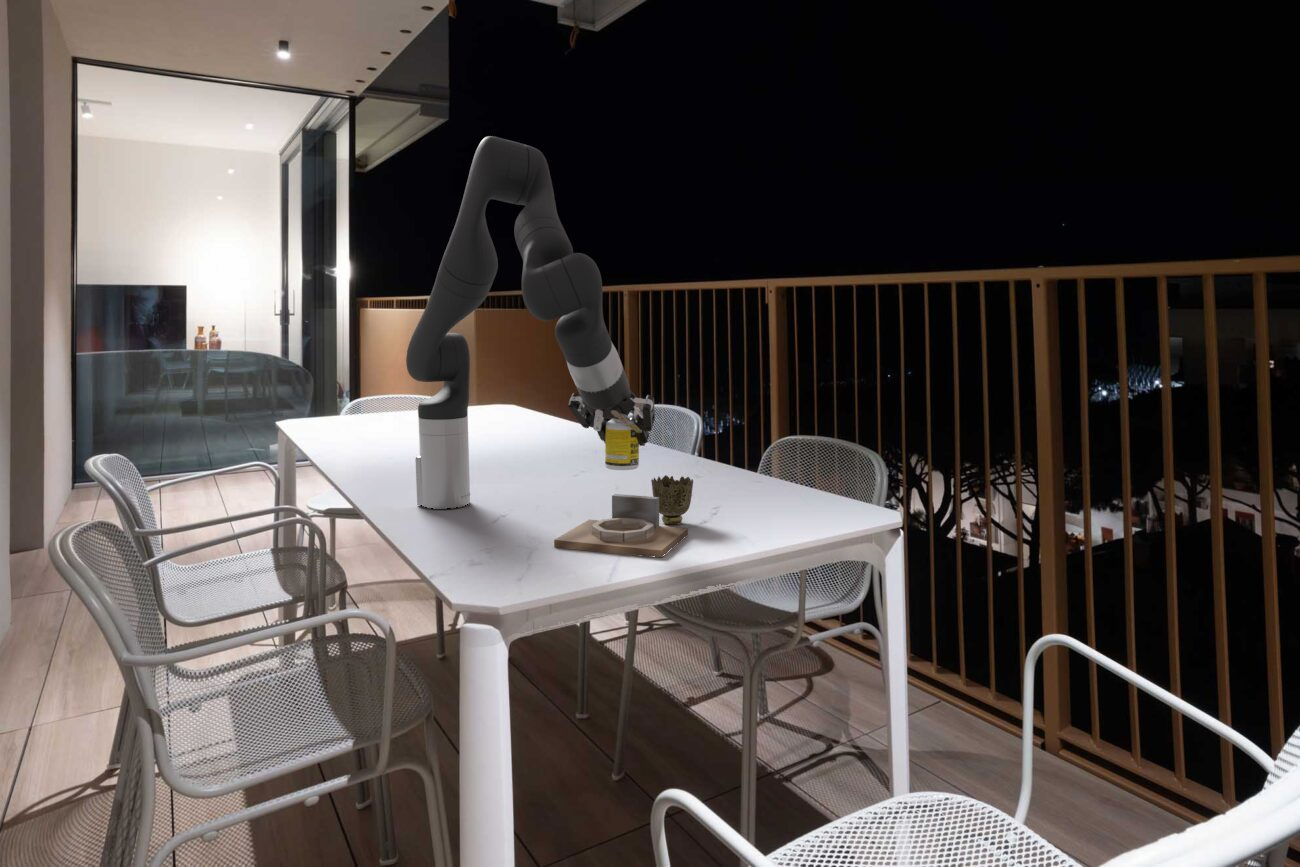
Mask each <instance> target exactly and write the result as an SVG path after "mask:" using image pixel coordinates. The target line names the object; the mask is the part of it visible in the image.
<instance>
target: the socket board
mask: <svg viewBox="0 0 1300 867" xmlns="http://www.w3.org/2000/svg"><path fill="white" fill-rule="evenodd" d="M687 535H688V536H689V529H688V527H678V526H666V525H660V513H659V497H653V496H646V495H633V494H624V493H623V494H622V493H621V494H619V493H614V494H612V495H611V518H604V519H600V520H597V519H588V520H586V521H584V522H583V523H581V524H579V525H578V526H577V525H576V526H575V527H574V528H573V529H570V530H568V531H567V532H565V533H563V534H561V535H560V536H558V537H557V538H554V539H553V547H554V548H560V549H570V550H579V551H587V552H589V551H590V552H596V553H597V552H600V553H608V554H609V553H610V554H617V555H618V554H619V555H627V554H628V555H629V556H636V555H642V556H641V557H646V556H655V557H662V556H663V555H664V554H666V553H667V552H668V551H669V550H670V549H671V548H673V547H674V546H675V545H676V544H677V543H678V544H680V543H681V542H682V541H683V540H684V539H685V538H686V536H687ZM688 536H687V537H688ZM684 537H685V538H684ZM683 538H684V539H683ZM682 539H683V540H682ZM681 540H682V541H681ZM680 541H681V542H680ZM679 542H680V543H679ZM678 544H677V545H678ZM677 545H676V546H677ZM676 546H675V547H676ZM675 547H674V548H675ZM674 548H673V549H674ZM671 550H672V549H671ZM671 550H670V551H671ZM670 551H669V552H670ZM669 552H668V553H669ZM668 553H667V554H668ZM667 554H666V555H667ZM628 555H627V556H628ZM655 557H654V558H655ZM663 557H664V556H663ZM663 557H662V558H663Z"/></svg>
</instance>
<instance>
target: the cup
mask: <svg viewBox="0 0 1300 867" xmlns="http://www.w3.org/2000/svg"><path fill="white" fill-rule="evenodd" d="M650 481H651V491H652V497H659V515H660V514H661V515H662V517H661V521H662V523H663V524H666V525H668V524H669V526H675V524H676V525H679V524H681V523H682V522H683V516H682V515H684V514H686V513H687V512H688V510H689V509H690V506H691V504H692V503H691V502H692V495H693V487H694V486H693V485H694V480H693V478H690V476H687V477H684V476H681V477H680V478H679V480H678V479H674V476H673V475H671V476H670V477H669V476H668V475H667V474H665V475H664V476H663V477H662V478H661V476H657V479H656V478H655V477H653V478H651V480H650Z"/></svg>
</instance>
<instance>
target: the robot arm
mask: <svg viewBox="0 0 1300 867" xmlns="http://www.w3.org/2000/svg"><path fill="white" fill-rule="evenodd" d="M471 162H472V163H471V166H470V169H469V174H468V178H467V182H466V185H465V189H464V193H463V198H462V200H461V205H460V208H459V210H458V211H459V212H458V215H457V217H456V221H455V223H454V224H455V225H454V228H453V230H452V232H451V235H450V237H449V241H448V243H447V246H446V249H445V250H444V254H443V256H442V259H441V262H440V265H439V268H438V271H437V273H436V278H435V282H434V285H433V287H432V290H431V293H430V295H429V298H428V301H427V304H426V306H425V308H424V311H423V313H422V315H421V317H420V319H419V320H418V322H417V324H416V327H415V329H414V331H413V333H412V335H411V338H410V341H409V342H408V346H407V350H406V356H405V357H406V358H405V363H406V364H405V365H406V369H407V372H408V374H409V376H410V377H411V378H412V379H413V380H415V381H418V382H421V383H434V382H435V383H437V382H443V386H442V387H441V389H440V390H439V391H438V392H437V393H436V394H435V395H433V396H431V397H429V398H426V399H424V400H421V401H420V402H419V403H418V405H417V406H418V407H417V417H418V437H419V441H418V442H419V443H418V444H419V455H417V456H416V457H415V479H416V481H415V484H416V486H415V487H416V506H420V505H422V506H421V507H423V506H424V507H423V508H425V507H427V508H426V509H431V508H433V509H434V510H448V509H447V508H451V509H457V508H456V507H458V508H463V507H465V505H466V506H468V505H470V504H471V491H470V490H471V488H470V486H471V483H470V482H471V480H470V479H471V478H470V450H469V449H470V448H469V445H470V444H469V421H468V420H469V418H468V417H469V416H468V409H469V403H470V402H469V401H470V374H471V373H470V371H471V368H470V367H471V366H470V365H471V363H470V362H471V361H470V360H471V354H470V348H469V344H468V342H467V339H466V338H465V336H464V335H463V334H461V333H458V332H457V333H456V332H450V331H451V329H453V328H454V327H455V326H457V324H458V323H460V322H461V321H463V320H464V319H466V318H467V317H468V316H469V315H471V313H473V312H474V311H475V310H477V309H478V307H479V306H480V305H482V304H483V302H484V301H485V300H486V299H487V296H488V295H489V293H490V290H491V287H492V285H493V282H494V280H495V278H496V275H497V273H498V268H499V263H498V256H497V251H496V248H495V246H494V243H493V239H492V237H491V235H490V232H489V228H488V224H487V218H486V210H487V206H488V203H489V202H490V200H496V201H500V202H504V203H508V204H512V205H513V204H514V205H518V206H520V205H521V206H524V207H523V208H522V209H521V211H520V212H519V213H518V216H517V217H516V218H515V222H514V228H513V229H514V230H513V234H514V239H515V243H516V246H517V249H518V251H519V254H520V256H521V258H522V274H521V295H522V299H523V302H524V305H525V308H526V309H527V311H529V314H531V315H532V316H533V317H534V318H536V319H538V320H539V321H542V322H551V321H555V320H558V321H557V322H556V325H555V327H554V335H555V339H556V342H557V343H558V346H559V347H560V350H561V352H562V354H563V356H564V359H565V361H566V364H567V368H568V371H569V373H570V376H571V379H572V380H573V382H574V385H575V387H576V390H577V391H578V392H573V393H572V394H571V397H570V398H569V401H568V404H567V408H568V409H569V411H570V412H571V413H572V414H573V416H574V418H576V420H577V421H578V422H579V424H580V425H581V427H582V428H584V429H589V428H590V427H591V428H593V430H594V431H595V432H597V435H598V437H599V439H600V440H601V441H602V442H603V443H604V444H605V436H606V423H607V422H608V420H611V419H613V418H614V419H619V420H621V421H622V422H623V423H624V424H625V425H626V426H630V427H631V428H632V429H633V430H634V431H635V435H636V438H637V440H638V443H639V447H641V446H642V447H645V445H646V444H647V443H648V441H649V437H650V433H649V432H652V430H653V425H654V423H655V420H656V411H655V410H656V409H655V408H656V407H655V398H654V396H653V395H651V394H650V395H649V394H647V395H646V397H645V398H640V397H637V396H636V394H634V392H632V390H631V388H630V382H629V379H628V377H627V375H626V372H625V369H624V366H623V364H622V360H621V359H620V356H619V352H618V351H617V350H618V349H616V347H615V345H614V343H613V342H612V339H611V337H610V335H609V332H608V328H607V326H606V323H605V321H604V319H605V318H604V314H603V313H604V312H603V281H602V276H601V275H602V274H601V272H600V269H599V267H598V266H597V263H596V262H595V260H594V259H593V258H591V257H590V256H589V255H587V254H585V253H582V252H574V250H573V245H572V243H571V241H570V238H569V237H568V235H567V233H566V231H565V228H564V226H563V224H562V223H561V222H562V221H561V220H560V217H559V215H558V210H557V205H556V200H555V199H556V198H555V193H554V192H555V191H554V188H553V187H554V186H553V182H552V178H551V177H552V176H551V174H550V173H551V172H550V168H549V164H548V162H547V159H546V157H545V156H544V154H543V152H542V151H541V150H540V149H537V148H536V147H533V146H532V145H527V144H524V143H520V142H517V141H513V140H509V139H505V138H502V137H498V136H493V135H492V136H491V135H490V136H489V135H488V136H485V137H484V138H483V139H482V140H481V141H480V143H479V144H478V146H477V148H476V150H475V153H474V156H473V159H472V161H471ZM593 413H594V414H593ZM636 422H637V423H636ZM469 503H470V504H469ZM467 504H468V505H467ZM462 506H463V507H462ZM433 509H432V510H433Z"/></svg>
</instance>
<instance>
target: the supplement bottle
mask: <svg viewBox="0 0 1300 867" xmlns="http://www.w3.org/2000/svg"><path fill="white" fill-rule="evenodd" d="M636 423H637V421H636ZM604 444H605V449H604V450H605V451H604V452H605V454H604V456H605V457H604V458H605V459H604V461H605V463H604V464H605V465H604V466H605V468H606V469H609V470H614V471H631V470H636V469H637V468H639V463H640V462H639V460H640V445H639V443H638V440H637V438H636V435H635V431H634V430H633V429H632V428H631V427H630V426H626V425H625V424H624V423H623V422H622V421H621V420H619V419H614V418H613V419H609V420H607V423H606V436H605V443H604Z"/></svg>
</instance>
